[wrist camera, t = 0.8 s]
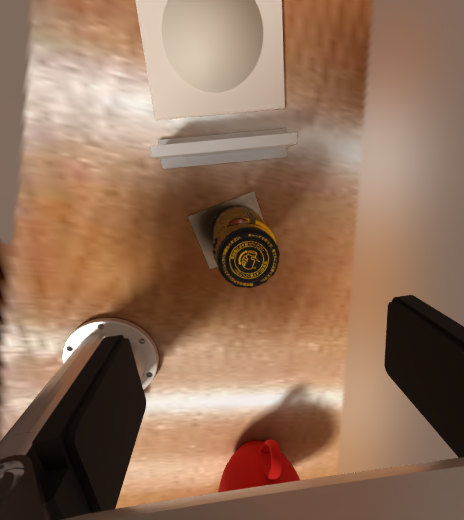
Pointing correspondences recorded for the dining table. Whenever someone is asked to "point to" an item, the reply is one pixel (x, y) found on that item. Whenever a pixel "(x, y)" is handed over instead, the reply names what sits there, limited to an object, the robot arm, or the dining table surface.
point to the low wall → (223, 148)
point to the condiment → (237, 241)
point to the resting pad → (212, 56)
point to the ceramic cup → (257, 467)
